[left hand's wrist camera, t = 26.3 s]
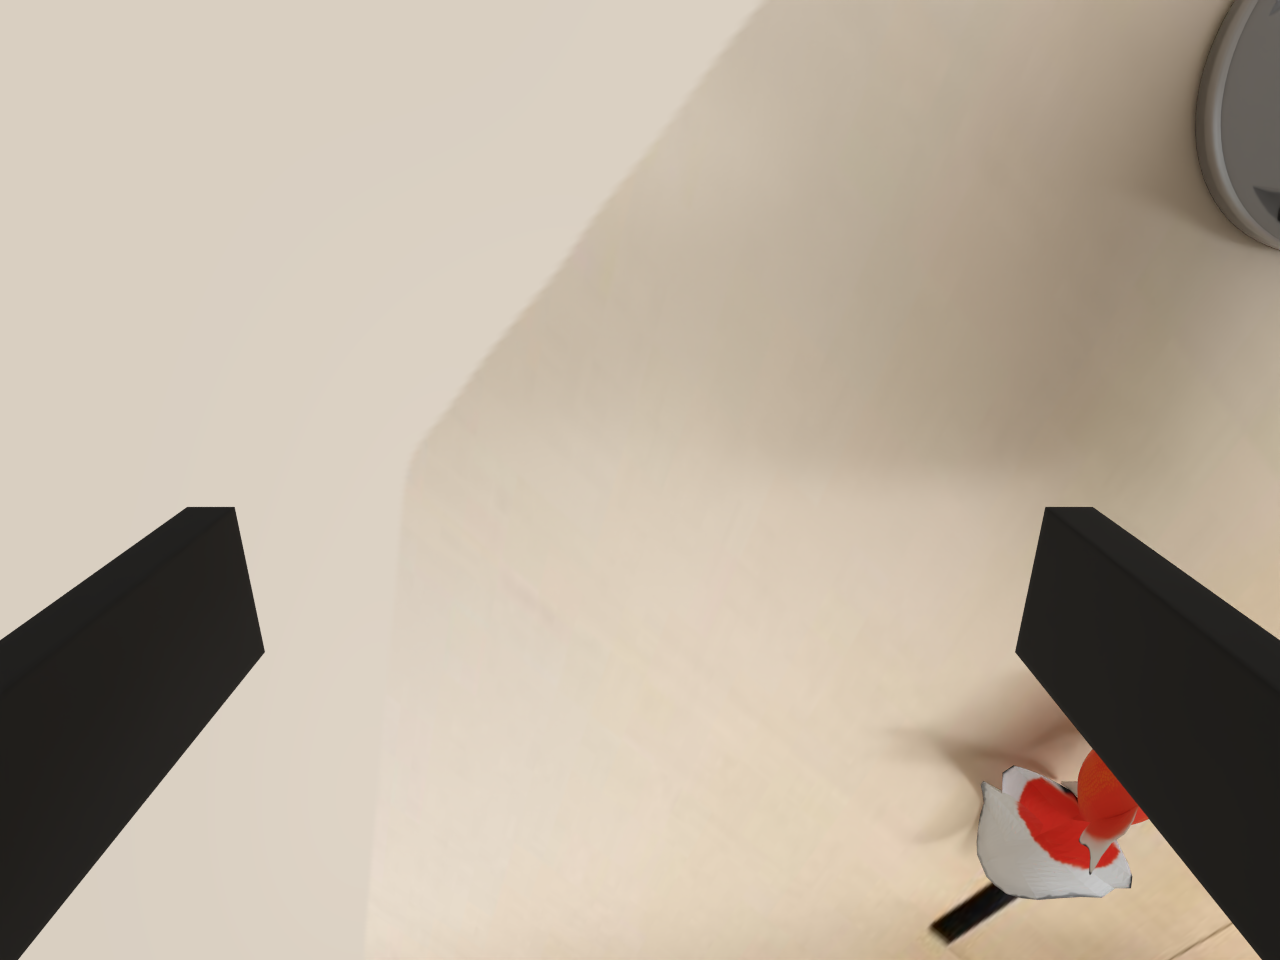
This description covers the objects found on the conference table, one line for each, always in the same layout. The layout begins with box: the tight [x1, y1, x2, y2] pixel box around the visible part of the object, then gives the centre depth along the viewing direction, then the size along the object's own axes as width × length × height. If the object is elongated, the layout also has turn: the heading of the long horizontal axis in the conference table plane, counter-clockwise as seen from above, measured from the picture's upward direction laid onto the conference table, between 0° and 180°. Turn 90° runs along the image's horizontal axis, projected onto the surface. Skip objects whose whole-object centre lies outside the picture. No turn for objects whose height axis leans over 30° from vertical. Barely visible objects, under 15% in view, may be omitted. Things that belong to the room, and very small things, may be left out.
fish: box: [977, 750, 1149, 900], centre depth 45 cm, size 11×16×10 cm
